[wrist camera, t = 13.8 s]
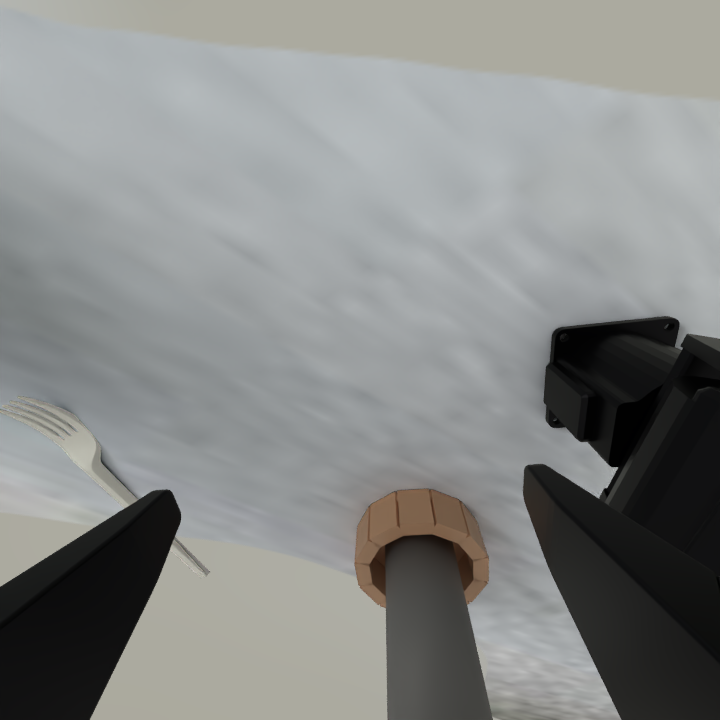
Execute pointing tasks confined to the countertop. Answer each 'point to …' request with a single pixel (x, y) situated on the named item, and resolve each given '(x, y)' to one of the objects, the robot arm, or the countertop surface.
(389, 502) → the terracotta bowl
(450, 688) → the pepper mill
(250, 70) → the countertop surface
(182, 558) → the off-white fork
